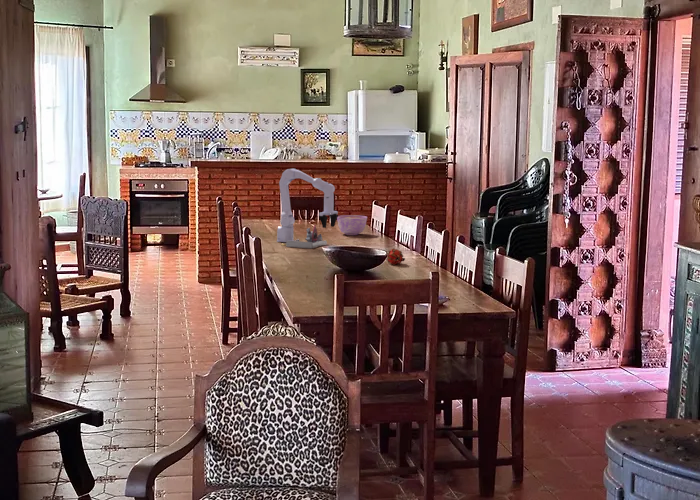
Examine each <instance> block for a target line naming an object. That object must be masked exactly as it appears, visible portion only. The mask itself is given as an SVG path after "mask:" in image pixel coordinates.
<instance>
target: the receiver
mask: <svg viewBox="0 0 700 500" xmlns="http://www.w3.org/2000/svg"><path fill="white" fill-rule="evenodd" d="M293 240H294V241H286V242H285V244H286V246H285V247H286V248H296V249H297V248H298V249H314V248H317V247H321V246H327V245H328V242H327V240H325V239H324V240H323V241H318V242H315V243H313V242H307V241H300V238H296V239H293Z"/></svg>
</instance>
